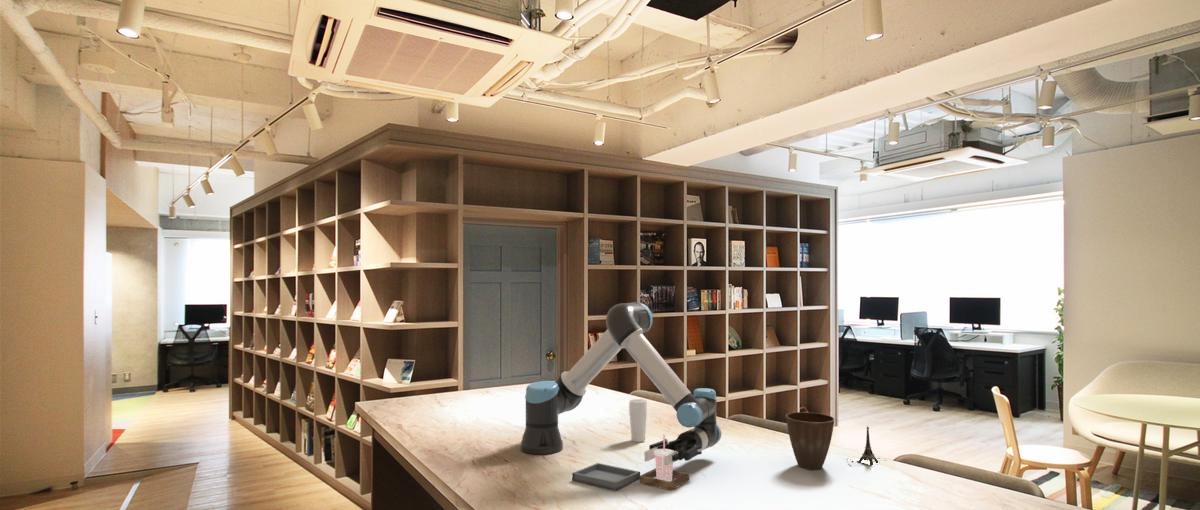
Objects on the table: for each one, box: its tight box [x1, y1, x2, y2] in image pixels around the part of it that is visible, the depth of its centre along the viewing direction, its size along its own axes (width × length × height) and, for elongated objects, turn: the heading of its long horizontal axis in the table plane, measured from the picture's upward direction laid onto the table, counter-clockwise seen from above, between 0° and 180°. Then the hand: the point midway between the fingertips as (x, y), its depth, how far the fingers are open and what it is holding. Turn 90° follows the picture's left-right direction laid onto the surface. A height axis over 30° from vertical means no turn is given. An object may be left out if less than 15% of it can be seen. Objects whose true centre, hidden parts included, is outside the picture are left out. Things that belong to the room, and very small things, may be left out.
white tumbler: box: [628, 398, 648, 443], centre depth 235 cm, size 7×7×15 cm
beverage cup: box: [654, 433, 674, 482], centre depth 187 cm, size 6×6×14 cm
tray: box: [571, 462, 641, 492], centre depth 188 cm, size 16×13×2 cm
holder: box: [638, 467, 690, 491], centre depth 186 cm, size 11×11×2 cm
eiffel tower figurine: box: [846, 426, 886, 465], centre depth 206 cm, size 15×10×13 cm
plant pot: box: [785, 411, 835, 471], centre depth 202 cm, size 15×15×16 cm
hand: (655, 458), depth 183 cm, fingers closed on beverage cup, 6 cm apart
